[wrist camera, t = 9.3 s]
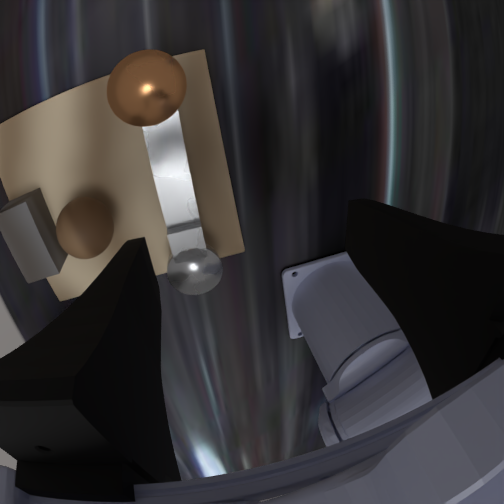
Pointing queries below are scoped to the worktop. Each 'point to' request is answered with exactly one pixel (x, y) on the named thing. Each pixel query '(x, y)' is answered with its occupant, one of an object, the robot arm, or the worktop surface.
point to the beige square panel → (107, 179)
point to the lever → (166, 160)
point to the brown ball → (84, 228)
